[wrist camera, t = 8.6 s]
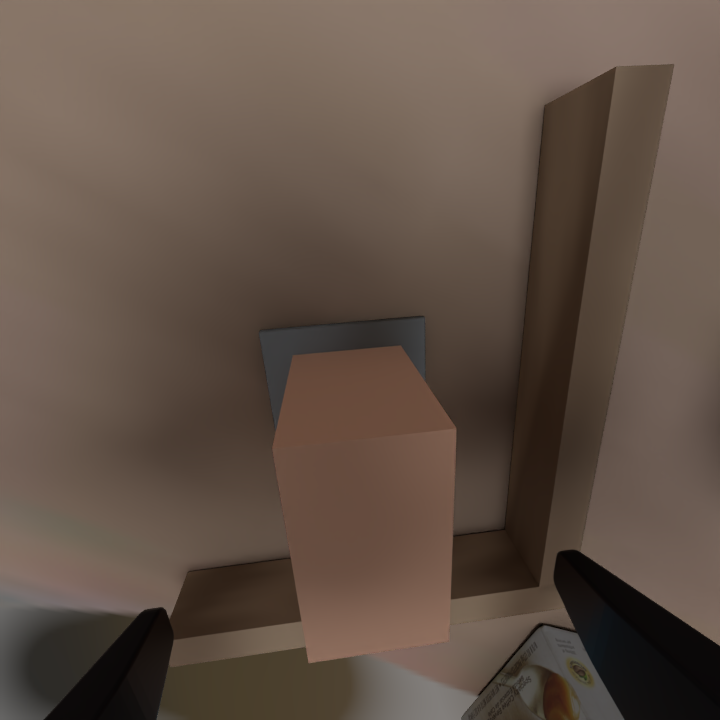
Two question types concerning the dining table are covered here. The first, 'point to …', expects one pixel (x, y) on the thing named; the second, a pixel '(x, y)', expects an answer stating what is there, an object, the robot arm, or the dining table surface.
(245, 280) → the dining table surface
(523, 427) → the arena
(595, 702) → the coffee box
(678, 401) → the dining table surface
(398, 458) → the block
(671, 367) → the dining table surface
